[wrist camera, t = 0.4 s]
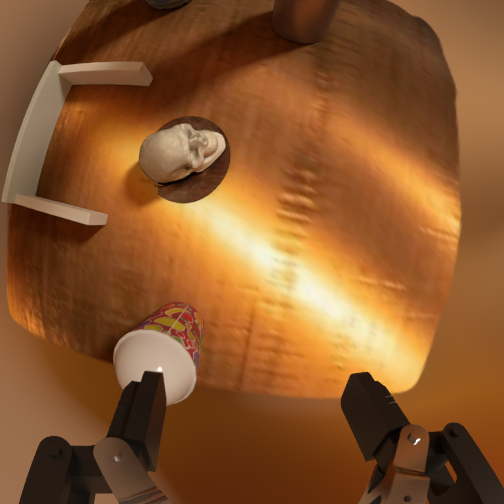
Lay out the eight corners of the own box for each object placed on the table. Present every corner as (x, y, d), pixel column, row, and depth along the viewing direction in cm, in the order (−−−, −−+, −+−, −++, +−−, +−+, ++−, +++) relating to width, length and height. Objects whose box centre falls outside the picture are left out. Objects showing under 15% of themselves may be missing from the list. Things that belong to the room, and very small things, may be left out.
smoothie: (203, 356, 37) (176, 456, 17) (148, 339, 36) (85, 421, 17) (217, 304, 36) (193, 384, 16) (159, 286, 36) (83, 343, 16)
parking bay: (70, 78, 32) (50, 61, 25) (153, 78, 33) (138, 54, 26) (28, 203, 34) (1, 201, 27) (105, 224, 35) (79, 225, 28)
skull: (216, 98, 33) (227, 120, 26) (230, 160, 41) (243, 197, 34) (133, 123, 32) (119, 154, 25) (155, 181, 40) (151, 223, 33)
